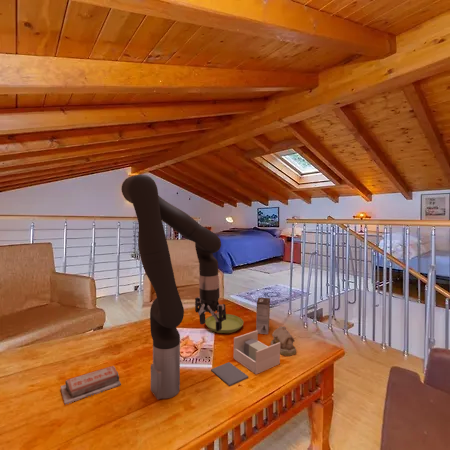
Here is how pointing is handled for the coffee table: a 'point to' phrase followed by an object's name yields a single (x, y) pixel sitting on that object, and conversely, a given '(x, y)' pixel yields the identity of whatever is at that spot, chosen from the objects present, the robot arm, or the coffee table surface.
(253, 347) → the box
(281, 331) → the ceramic model
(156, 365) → the robot arm
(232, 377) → the mat
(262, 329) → the coffee box
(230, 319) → the saucer
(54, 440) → the coffee table surface
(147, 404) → the coffee table surface
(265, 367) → the carton
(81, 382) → the packaged product
